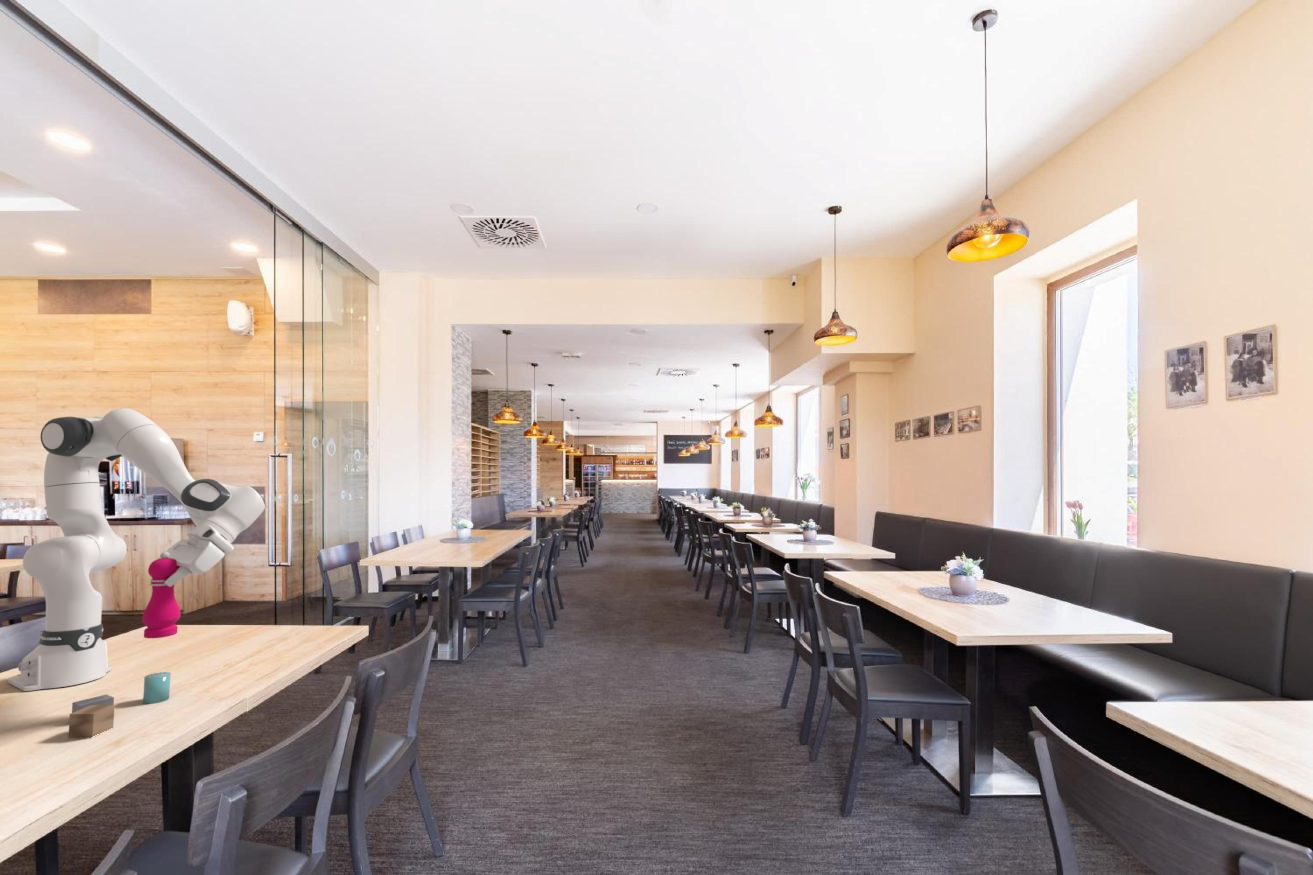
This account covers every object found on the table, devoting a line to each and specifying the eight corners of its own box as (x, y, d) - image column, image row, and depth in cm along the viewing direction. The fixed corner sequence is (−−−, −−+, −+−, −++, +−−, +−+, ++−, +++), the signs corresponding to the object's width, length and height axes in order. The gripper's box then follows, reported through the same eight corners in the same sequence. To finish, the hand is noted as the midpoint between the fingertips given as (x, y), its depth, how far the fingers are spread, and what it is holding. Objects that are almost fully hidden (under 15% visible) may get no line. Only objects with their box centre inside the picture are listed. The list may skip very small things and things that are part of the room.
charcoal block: (71, 720, 137) (72, 702, 137) (105, 711, 142) (106, 694, 142) (78, 724, 135) (80, 705, 135) (112, 714, 140) (113, 697, 140)
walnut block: (68, 738, 127) (69, 713, 128) (90, 728, 132) (91, 705, 133) (92, 738, 127) (93, 713, 128) (113, 728, 132) (114, 704, 133)
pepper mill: (186, 632, 148) (191, 550, 149) (154, 640, 141) (158, 554, 143) (166, 630, 150) (171, 549, 152) (133, 637, 144) (138, 552, 145)
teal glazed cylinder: (138, 702, 148) (139, 677, 148) (160, 695, 152) (161, 671, 153) (151, 704, 146) (153, 679, 146) (174, 697, 151) (175, 673, 151)
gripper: (180, 529, 159) (131, 571, 150) (218, 533, 148) (167, 579, 139) (199, 544, 162) (152, 587, 153) (237, 549, 152) (189, 595, 143)
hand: (160, 583), depth 146 cm, fingers closed on pepper mill, 5 cm apart
